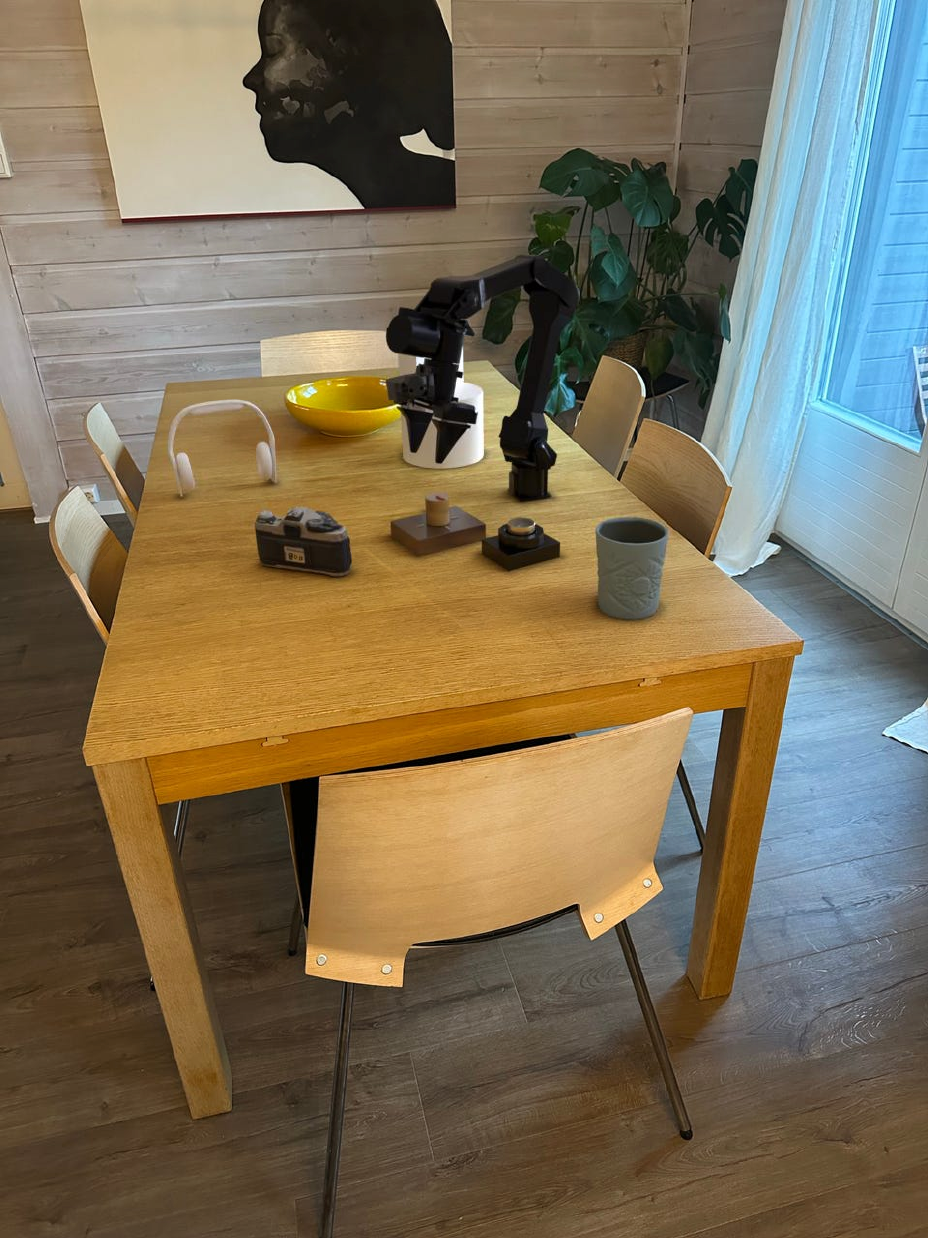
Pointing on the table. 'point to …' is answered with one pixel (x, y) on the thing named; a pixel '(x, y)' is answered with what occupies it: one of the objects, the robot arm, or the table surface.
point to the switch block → (520, 548)
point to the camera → (303, 542)
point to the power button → (520, 527)
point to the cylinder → (469, 443)
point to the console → (437, 532)
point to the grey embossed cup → (630, 566)
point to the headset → (263, 453)
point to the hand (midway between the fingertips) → (425, 457)
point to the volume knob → (437, 509)
